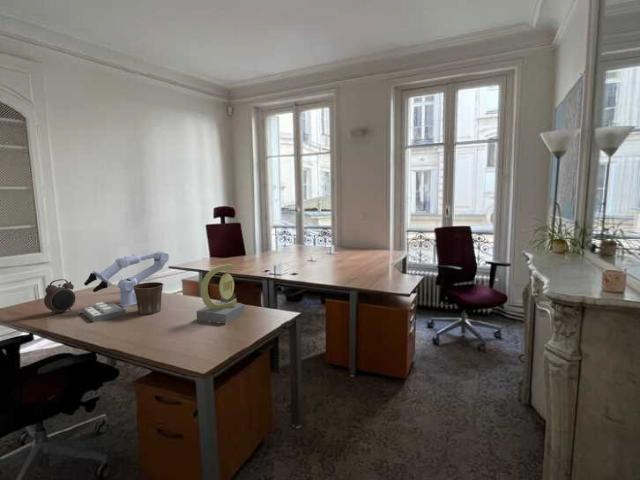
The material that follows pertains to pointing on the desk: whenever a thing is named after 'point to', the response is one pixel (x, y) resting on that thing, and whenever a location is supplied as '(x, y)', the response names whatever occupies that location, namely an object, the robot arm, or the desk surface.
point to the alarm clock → (59, 297)
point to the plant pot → (148, 297)
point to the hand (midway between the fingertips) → (89, 288)
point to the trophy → (226, 287)
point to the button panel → (98, 315)
